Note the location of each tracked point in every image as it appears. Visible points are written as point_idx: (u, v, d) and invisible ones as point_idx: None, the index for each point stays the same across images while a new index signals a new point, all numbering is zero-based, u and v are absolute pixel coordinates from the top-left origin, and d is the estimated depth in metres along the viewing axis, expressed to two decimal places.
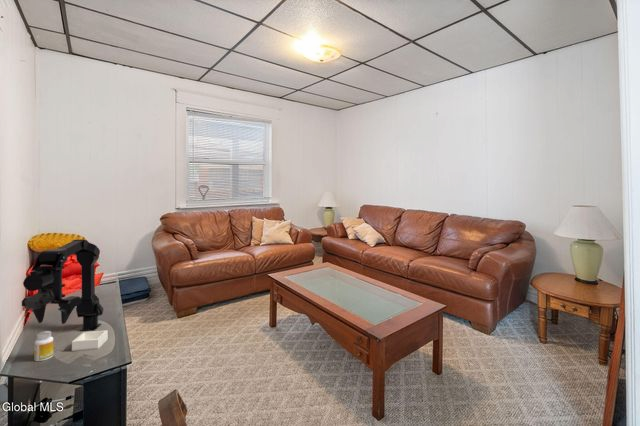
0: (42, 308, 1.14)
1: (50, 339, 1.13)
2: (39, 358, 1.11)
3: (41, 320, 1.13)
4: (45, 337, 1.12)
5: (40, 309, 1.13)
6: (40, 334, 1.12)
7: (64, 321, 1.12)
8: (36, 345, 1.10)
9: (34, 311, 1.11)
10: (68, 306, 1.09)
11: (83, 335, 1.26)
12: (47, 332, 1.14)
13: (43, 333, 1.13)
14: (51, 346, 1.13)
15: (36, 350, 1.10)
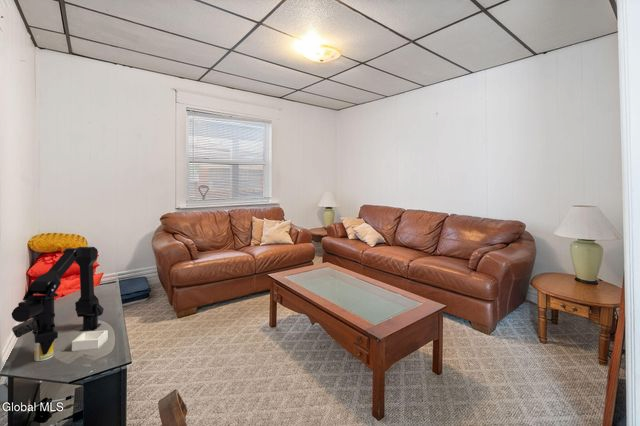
0: None
1: None
2: (39, 358, 1.11)
3: None
4: None
5: None
6: None
7: (44, 352, 1.11)
8: (36, 345, 1.10)
9: None
10: (36, 341, 1.05)
11: (83, 335, 1.26)
12: None
13: None
14: (51, 346, 1.13)
15: (36, 350, 1.10)
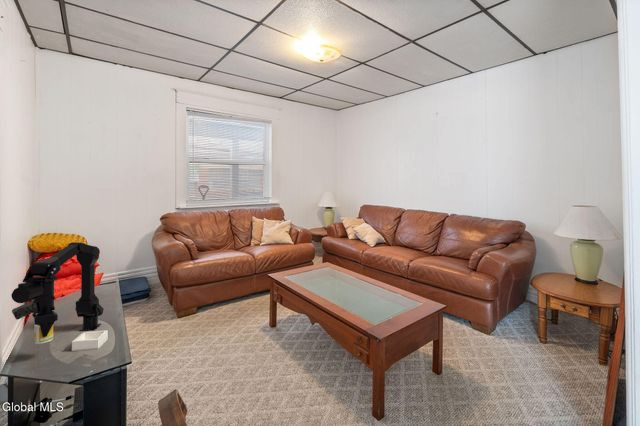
0: None
1: None
2: (39, 341, 1.10)
3: None
4: None
5: None
6: None
7: (44, 334, 1.10)
8: (36, 328, 1.10)
9: None
10: (35, 323, 1.04)
11: (83, 335, 1.26)
12: None
13: None
14: (51, 329, 1.13)
15: (36, 333, 1.10)
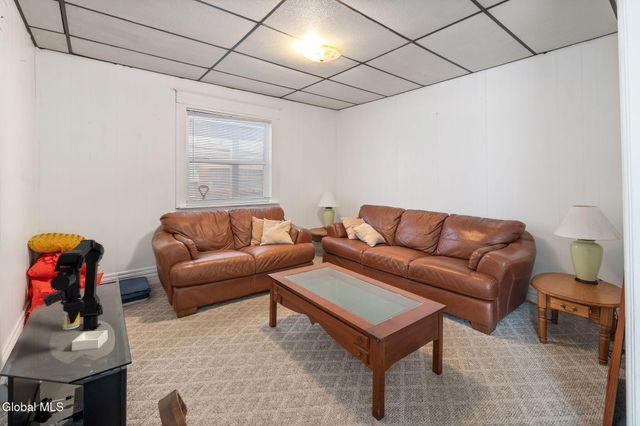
0: None
1: None
2: (67, 327, 1.16)
3: None
4: None
5: None
6: None
7: (71, 321, 1.17)
8: (64, 314, 1.16)
9: None
10: (64, 309, 1.10)
11: (83, 335, 1.26)
12: None
13: None
14: (77, 316, 1.19)
15: (64, 319, 1.16)
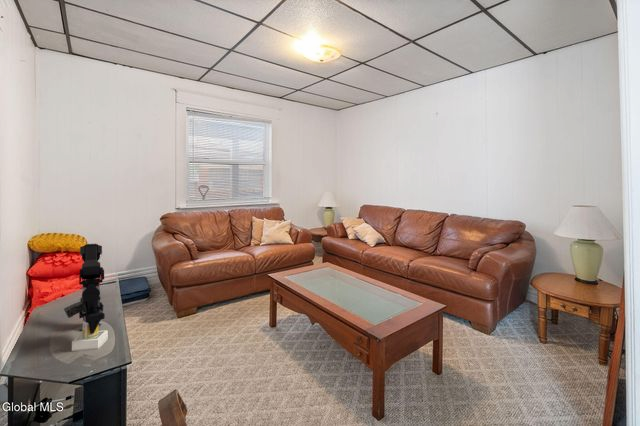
0: None
1: None
2: (87, 337, 1.21)
3: None
4: None
5: None
6: None
7: (91, 331, 1.22)
8: (84, 325, 1.21)
9: None
10: (86, 320, 1.16)
11: None
12: None
13: None
14: (97, 326, 1.24)
15: (84, 329, 1.21)
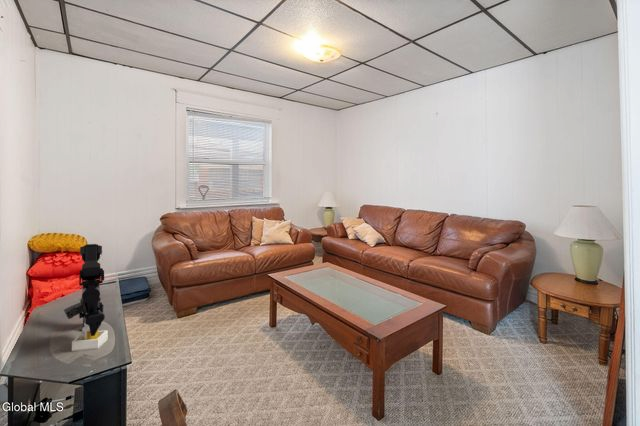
0: None
1: None
2: None
3: None
4: None
5: None
6: None
7: (92, 334, 1.20)
8: (84, 332, 1.21)
9: None
10: (86, 321, 1.15)
11: None
12: None
13: None
14: (97, 333, 1.24)
15: (84, 336, 1.21)
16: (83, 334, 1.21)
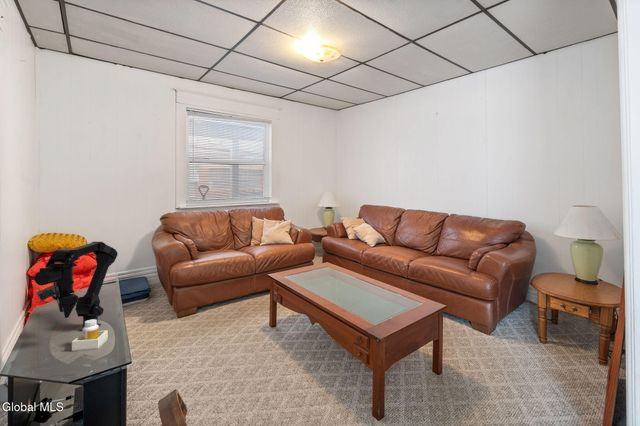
0: None
1: (96, 326, 1.24)
2: None
3: (62, 310, 1.28)
4: (92, 324, 1.23)
5: None
6: (87, 322, 1.23)
7: (66, 315, 1.22)
8: (84, 331, 1.21)
9: (57, 301, 1.28)
10: (60, 303, 1.17)
11: None
12: (93, 320, 1.24)
13: (90, 321, 1.24)
14: (97, 333, 1.24)
15: (84, 336, 1.21)
16: (83, 334, 1.21)
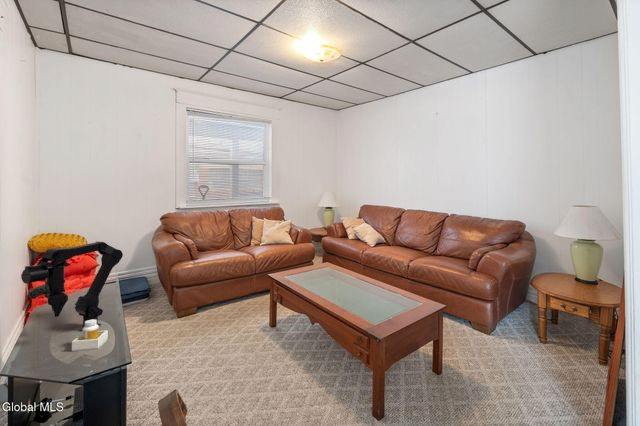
0: None
1: (96, 326, 1.24)
2: None
3: None
4: (92, 324, 1.23)
5: None
6: (87, 322, 1.23)
7: (56, 314, 1.23)
8: (84, 331, 1.21)
9: None
10: (49, 302, 1.18)
11: None
12: (93, 320, 1.24)
13: (90, 321, 1.24)
14: (97, 333, 1.24)
15: (84, 336, 1.21)
16: (83, 334, 1.21)
